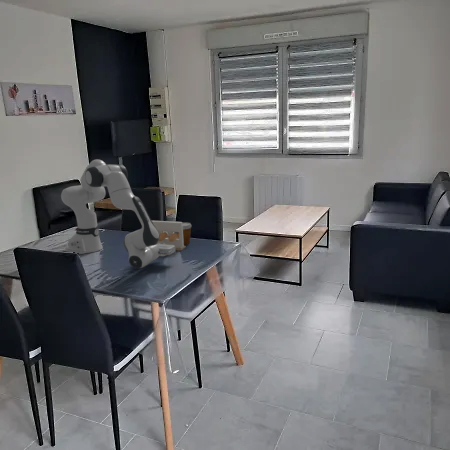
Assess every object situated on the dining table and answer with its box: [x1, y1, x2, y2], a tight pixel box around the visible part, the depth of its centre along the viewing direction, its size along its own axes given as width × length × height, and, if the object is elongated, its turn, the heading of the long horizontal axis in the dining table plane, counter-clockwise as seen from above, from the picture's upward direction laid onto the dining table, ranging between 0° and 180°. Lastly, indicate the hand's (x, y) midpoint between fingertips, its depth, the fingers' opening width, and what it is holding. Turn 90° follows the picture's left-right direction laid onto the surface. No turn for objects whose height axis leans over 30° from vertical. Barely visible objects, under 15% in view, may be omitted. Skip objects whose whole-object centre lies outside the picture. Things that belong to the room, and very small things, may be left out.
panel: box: [151, 220, 187, 252], centre depth 249 cm, size 22×7×16 cm, turn 71°
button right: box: [167, 232, 179, 242], centre depth 244 cm, size 4×6×4 cm, turn 162°
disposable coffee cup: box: [176, 222, 192, 246], centre depth 258 cm, size 10×10×12 cm
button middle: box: [159, 232, 168, 241], centre depth 246 cm, size 4×6×4 cm, turn 161°
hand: (162, 244), depth 232 cm, fingers closed
